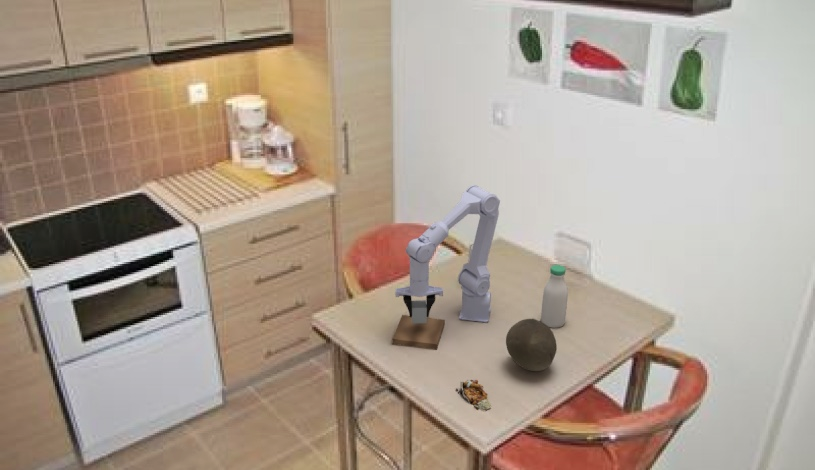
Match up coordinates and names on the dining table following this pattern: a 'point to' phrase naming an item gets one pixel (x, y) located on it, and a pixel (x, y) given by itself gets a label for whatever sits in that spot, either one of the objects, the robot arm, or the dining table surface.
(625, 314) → the dining table surface
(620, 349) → the dining table surface
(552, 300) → the milk bottle
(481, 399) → the turtle figurine
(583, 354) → the dining table surface
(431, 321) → the board
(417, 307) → the block
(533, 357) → the dark brown coconut
